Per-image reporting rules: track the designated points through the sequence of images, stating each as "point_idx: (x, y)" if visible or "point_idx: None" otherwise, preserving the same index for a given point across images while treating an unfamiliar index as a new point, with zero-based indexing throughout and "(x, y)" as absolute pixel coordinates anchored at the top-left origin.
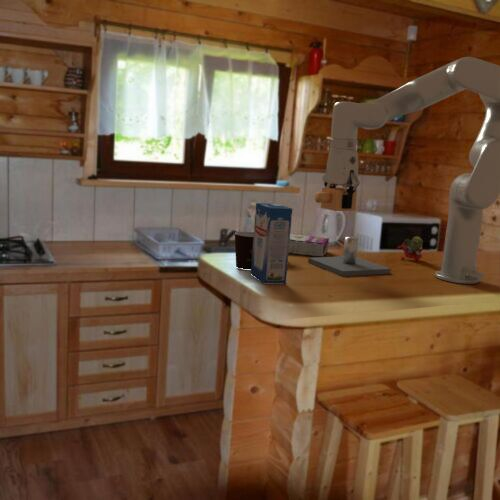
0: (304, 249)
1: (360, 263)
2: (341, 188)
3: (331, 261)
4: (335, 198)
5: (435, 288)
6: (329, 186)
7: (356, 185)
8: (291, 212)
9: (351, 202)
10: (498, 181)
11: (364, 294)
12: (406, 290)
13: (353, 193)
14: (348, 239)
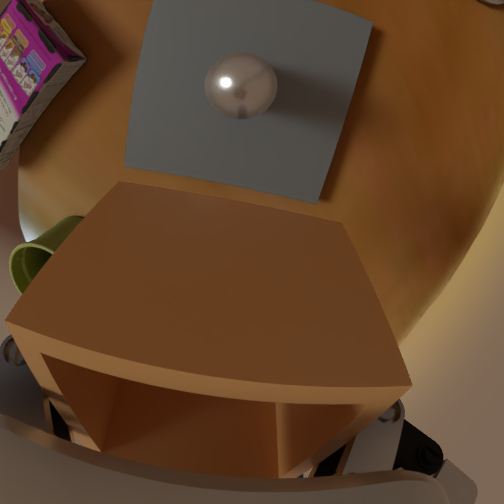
0: (38, 110)
1: (266, 46)
2: (43, 344)
3: (195, 126)
4: (275, 426)
5: (496, 93)
6: (74, 441)
7: (449, 480)
8: (302, 476)
9: None
10: None
11: (422, 276)
12: (469, 171)
13: (396, 408)
14: (248, 117)
